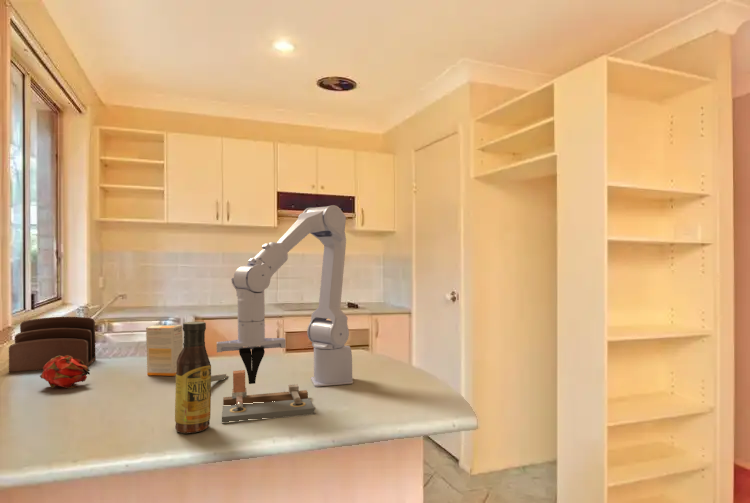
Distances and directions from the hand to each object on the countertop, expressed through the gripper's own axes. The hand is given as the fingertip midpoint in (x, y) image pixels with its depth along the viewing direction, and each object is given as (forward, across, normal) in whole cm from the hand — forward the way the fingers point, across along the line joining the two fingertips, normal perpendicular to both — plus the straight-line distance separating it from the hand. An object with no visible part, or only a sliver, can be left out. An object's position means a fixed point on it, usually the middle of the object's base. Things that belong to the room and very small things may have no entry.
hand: (251, 382), depth 108 cm
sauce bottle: (+5, +12, +12) cm, 18 cm away
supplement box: (+5, +21, -35) cm, 41 cm away
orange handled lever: (+3, +3, +3) cm, 5 cm away
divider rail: (+4, -3, +4) cm, 7 cm away
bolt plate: (+4, -3, +8) cm, 10 cm away
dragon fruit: (+5, +43, -30) cm, 52 cm away
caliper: (+5, +9, -16) cm, 20 cm away
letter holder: (+5, +53, -57) cm, 78 cm away
